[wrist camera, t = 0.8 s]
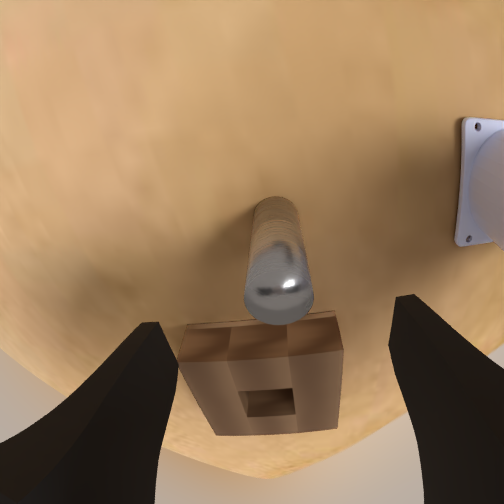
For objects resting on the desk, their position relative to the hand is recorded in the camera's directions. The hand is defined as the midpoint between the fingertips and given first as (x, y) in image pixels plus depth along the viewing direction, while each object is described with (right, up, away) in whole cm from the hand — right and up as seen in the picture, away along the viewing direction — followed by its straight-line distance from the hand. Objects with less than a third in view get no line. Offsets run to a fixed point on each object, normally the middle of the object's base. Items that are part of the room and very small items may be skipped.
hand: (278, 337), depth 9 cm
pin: (+1, +4, +8) cm, 9 cm away
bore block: (+1, -6, +14) cm, 15 cm away
